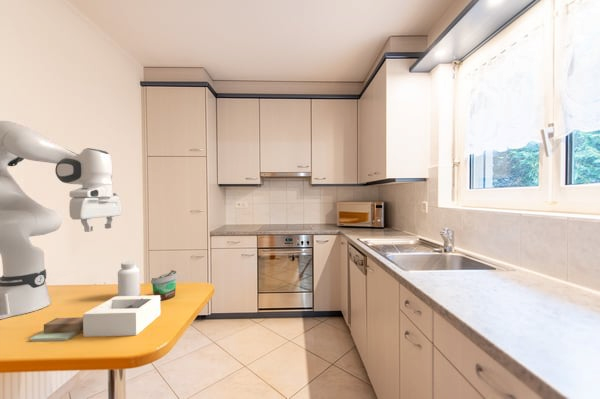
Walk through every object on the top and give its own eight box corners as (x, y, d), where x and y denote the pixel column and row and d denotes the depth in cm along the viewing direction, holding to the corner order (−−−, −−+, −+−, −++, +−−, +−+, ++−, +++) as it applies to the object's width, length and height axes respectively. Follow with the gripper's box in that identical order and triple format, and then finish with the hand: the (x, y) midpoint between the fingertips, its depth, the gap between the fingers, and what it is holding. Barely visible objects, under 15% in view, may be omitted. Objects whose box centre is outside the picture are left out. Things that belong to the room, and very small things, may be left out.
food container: (164, 303, 102) (163, 279, 102) (151, 302, 103) (150, 278, 103) (184, 292, 114) (183, 270, 114) (172, 291, 115) (171, 269, 115)
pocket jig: (83, 336, 78) (82, 313, 78) (115, 315, 92) (115, 296, 92) (136, 335, 78) (135, 312, 78) (160, 314, 92) (160, 295, 92)
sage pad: (29, 341, 76) (29, 338, 76) (60, 324, 86) (60, 322, 86) (66, 340, 76) (66, 337, 76) (93, 323, 86) (93, 321, 86)
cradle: (103, 327, 82) (100, 321, 82) (115, 319, 88) (112, 314, 88) (136, 309, 83) (133, 304, 83) (146, 302, 88) (143, 297, 88)
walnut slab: (43, 333, 79) (43, 324, 79) (56, 326, 83) (56, 318, 83) (80, 332, 79) (79, 323, 79) (90, 325, 83) (90, 317, 83)
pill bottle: (123, 301, 104) (122, 265, 104) (114, 298, 109) (113, 263, 109) (143, 295, 111) (143, 261, 111) (134, 292, 115) (133, 259, 115)
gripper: (110, 193, 104) (110, 226, 104) (64, 192, 84) (65, 233, 84) (125, 193, 104) (126, 226, 104) (84, 191, 84) (85, 233, 84)
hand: (99, 229), depth 94 cm, fingers open, 8 cm apart
